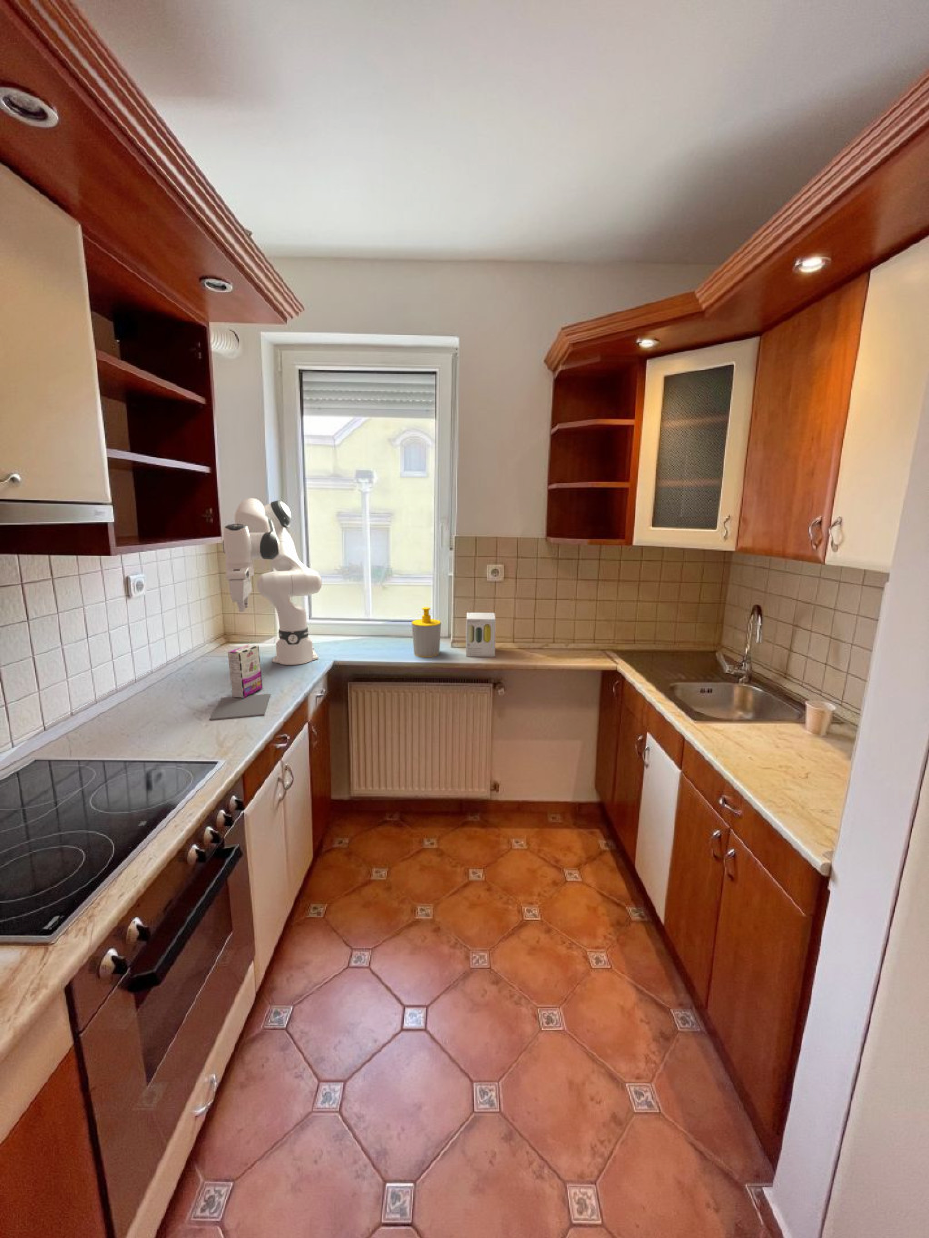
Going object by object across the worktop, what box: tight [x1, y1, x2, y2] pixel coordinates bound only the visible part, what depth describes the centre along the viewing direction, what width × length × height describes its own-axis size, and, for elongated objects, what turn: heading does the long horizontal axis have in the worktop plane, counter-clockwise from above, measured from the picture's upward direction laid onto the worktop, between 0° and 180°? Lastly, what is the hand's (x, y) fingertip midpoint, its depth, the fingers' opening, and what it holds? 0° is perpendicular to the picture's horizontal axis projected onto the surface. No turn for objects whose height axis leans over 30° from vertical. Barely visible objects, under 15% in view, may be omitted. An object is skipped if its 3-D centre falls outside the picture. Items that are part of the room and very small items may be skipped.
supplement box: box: [465, 612, 496, 658], centre depth 228 cm, size 13×13×18 cm
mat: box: [209, 693, 271, 721], centre depth 167 cm, size 18×16×1 cm
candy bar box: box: [227, 644, 263, 698], centre depth 177 cm, size 11×5×16 cm, turn 168°
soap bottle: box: [411, 606, 442, 658], centre depth 226 cm, size 13×13×21 cm
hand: (243, 609), depth 180 cm, fingers open, 5 cm apart
